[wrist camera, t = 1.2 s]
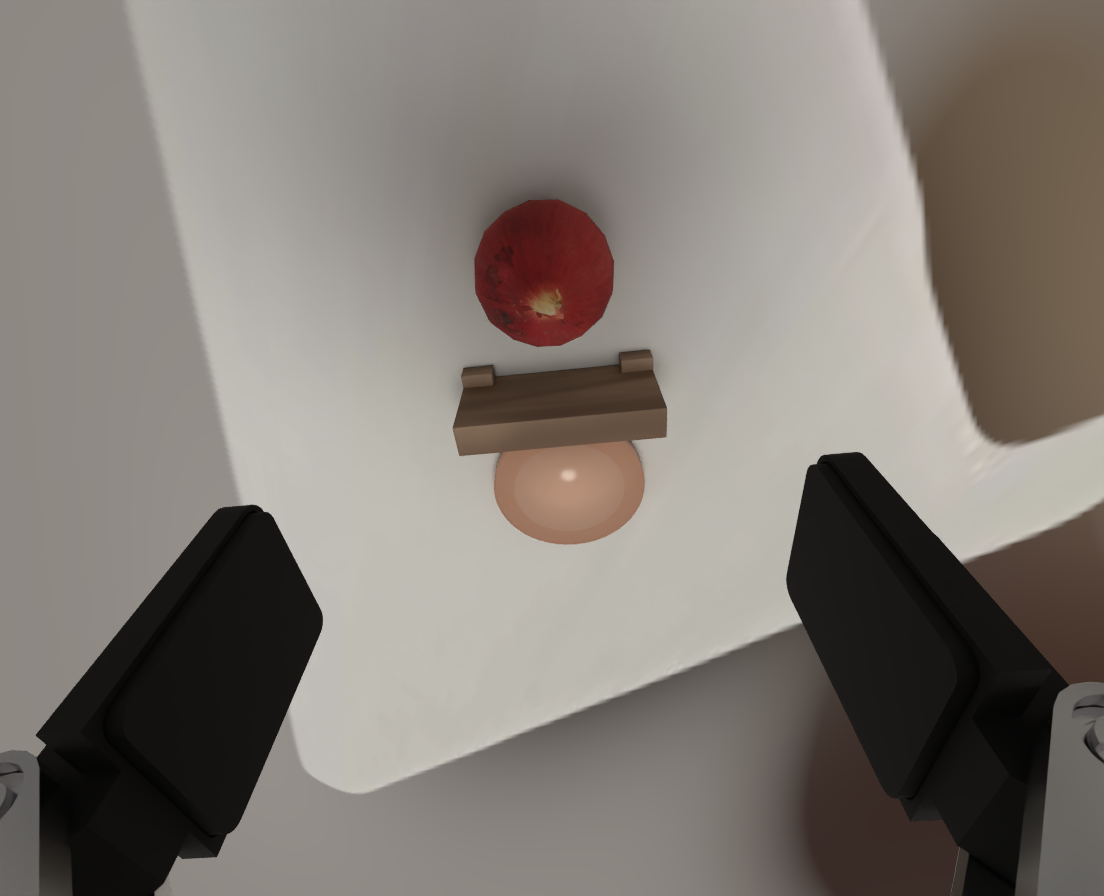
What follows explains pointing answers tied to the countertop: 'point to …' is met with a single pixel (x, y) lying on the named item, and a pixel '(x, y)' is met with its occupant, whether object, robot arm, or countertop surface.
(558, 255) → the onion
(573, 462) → the plate
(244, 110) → the countertop surface
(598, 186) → the countertop surface
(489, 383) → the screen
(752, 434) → the countertop surface
